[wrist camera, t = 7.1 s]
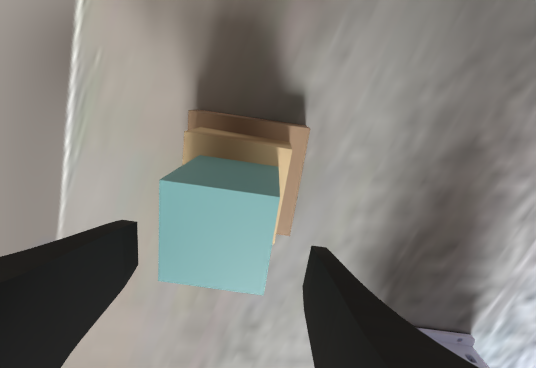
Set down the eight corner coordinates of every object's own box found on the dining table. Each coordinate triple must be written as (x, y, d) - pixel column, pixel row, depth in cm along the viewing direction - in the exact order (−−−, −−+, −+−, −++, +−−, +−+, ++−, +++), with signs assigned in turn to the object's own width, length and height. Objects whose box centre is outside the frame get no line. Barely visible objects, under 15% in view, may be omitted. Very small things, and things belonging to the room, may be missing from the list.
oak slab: (289, 142, 17) (292, 149, 14) (274, 222, 18) (274, 244, 15) (200, 127, 16) (184, 131, 14) (193, 209, 18) (178, 228, 15)
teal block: (278, 166, 14) (280, 196, 9) (267, 236, 15) (263, 295, 11) (199, 155, 14) (159, 179, 9) (195, 226, 15) (158, 280, 10)
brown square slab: (305, 124, 19) (310, 128, 16) (287, 218, 22) (289, 236, 19) (201, 109, 19) (188, 110, 16) (196, 205, 21) (183, 220, 19)
